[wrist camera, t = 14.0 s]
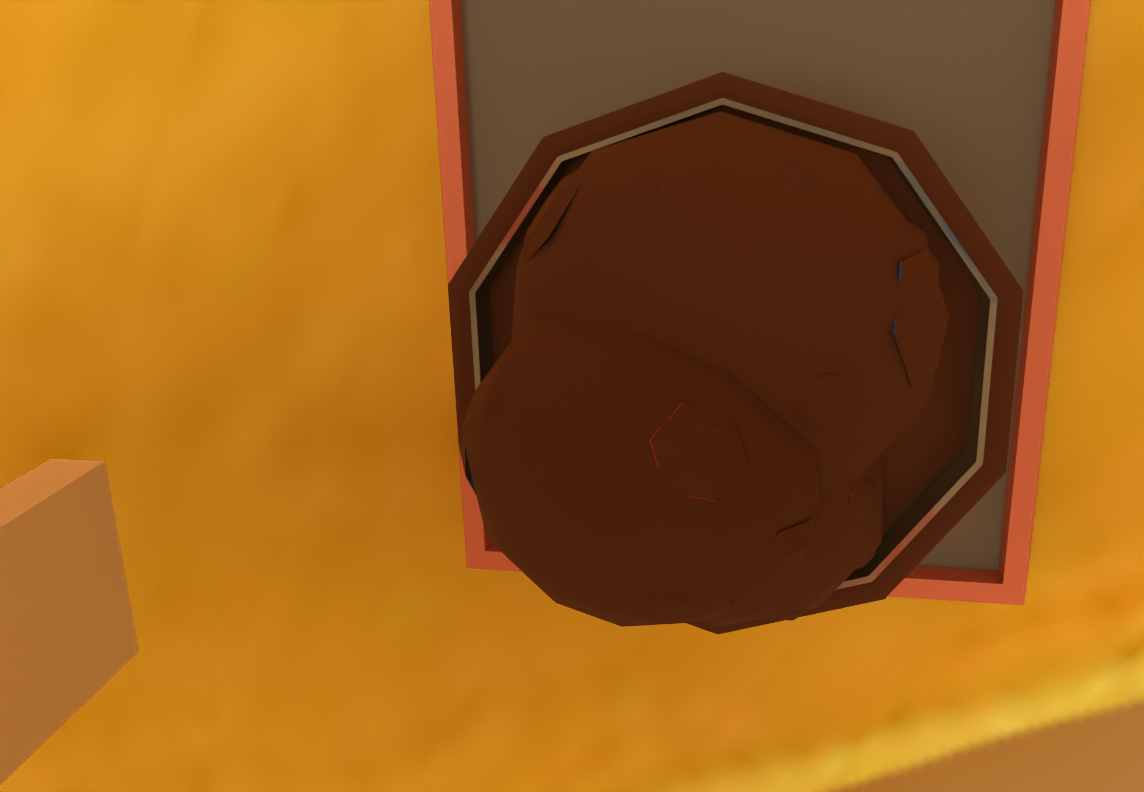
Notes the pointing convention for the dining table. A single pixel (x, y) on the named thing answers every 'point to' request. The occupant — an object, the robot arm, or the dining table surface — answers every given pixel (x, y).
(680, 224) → the ice cream bowl
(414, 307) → the dining table surface
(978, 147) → the serving tray
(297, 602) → the dining table surface
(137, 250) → the dining table surface
